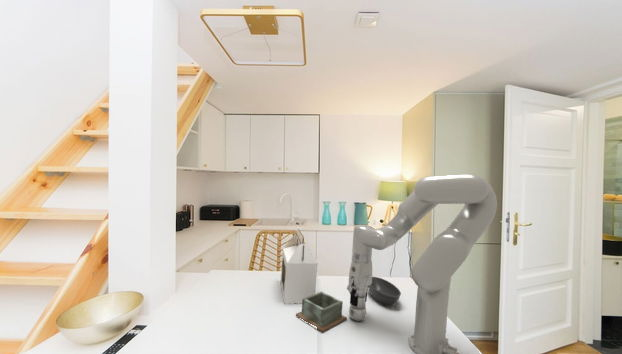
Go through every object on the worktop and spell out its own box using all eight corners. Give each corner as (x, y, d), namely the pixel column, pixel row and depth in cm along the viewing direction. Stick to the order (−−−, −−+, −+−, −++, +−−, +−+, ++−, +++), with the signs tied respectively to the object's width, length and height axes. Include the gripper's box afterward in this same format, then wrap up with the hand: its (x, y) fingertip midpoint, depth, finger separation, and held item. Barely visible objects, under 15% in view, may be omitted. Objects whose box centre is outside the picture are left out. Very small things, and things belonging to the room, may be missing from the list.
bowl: (381, 312, 111) (382, 297, 111) (359, 289, 133) (360, 277, 133) (407, 310, 114) (408, 296, 114) (381, 288, 136) (382, 276, 136)
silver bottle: (365, 324, 100) (369, 272, 100) (347, 321, 102) (351, 269, 102) (365, 316, 107) (369, 266, 107) (348, 313, 108) (352, 264, 108)
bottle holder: (346, 320, 103) (348, 302, 103) (322, 333, 93) (323, 313, 93) (320, 305, 113) (321, 289, 113) (295, 316, 103) (297, 298, 103)
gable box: (280, 282, 134) (284, 227, 134) (306, 282, 136) (310, 228, 136) (284, 304, 112) (288, 238, 112) (314, 303, 114) (319, 239, 114)
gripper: (356, 263, 95) (353, 313, 96) (381, 255, 108) (378, 300, 108) (340, 258, 101) (336, 305, 101) (365, 251, 113) (362, 293, 113)
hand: (358, 302), depth 104 cm, fingers closed on silver bottle, 5 cm apart
